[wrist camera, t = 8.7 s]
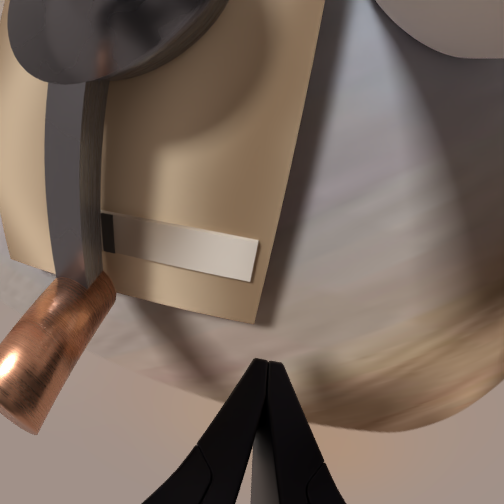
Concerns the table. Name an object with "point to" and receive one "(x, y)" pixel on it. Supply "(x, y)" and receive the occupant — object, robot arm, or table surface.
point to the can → (452, 25)
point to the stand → (178, 160)
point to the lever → (79, 169)
